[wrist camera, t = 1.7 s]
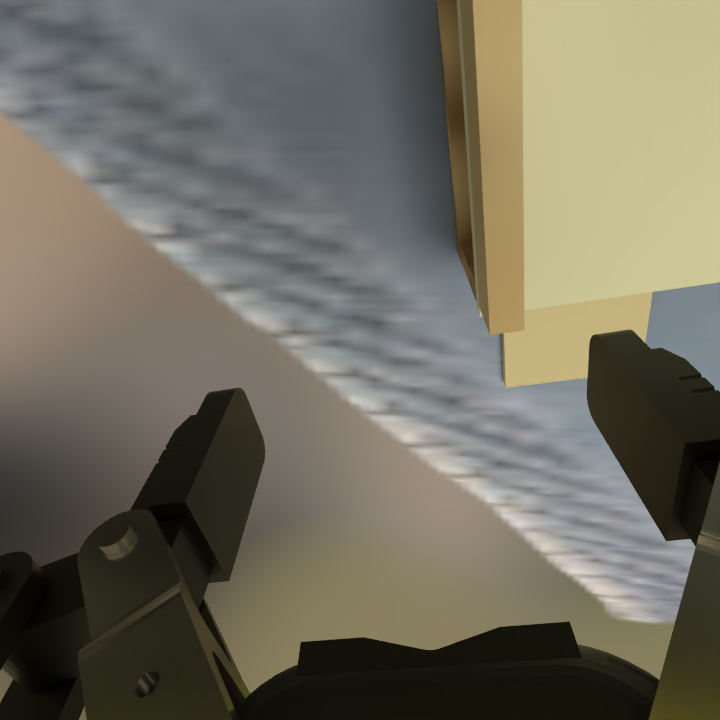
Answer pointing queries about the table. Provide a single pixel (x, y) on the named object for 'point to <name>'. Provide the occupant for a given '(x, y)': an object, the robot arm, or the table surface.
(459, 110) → the open wooden frame
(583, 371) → the stone tile
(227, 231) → the table surface
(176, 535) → the robot arm
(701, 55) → the lid
